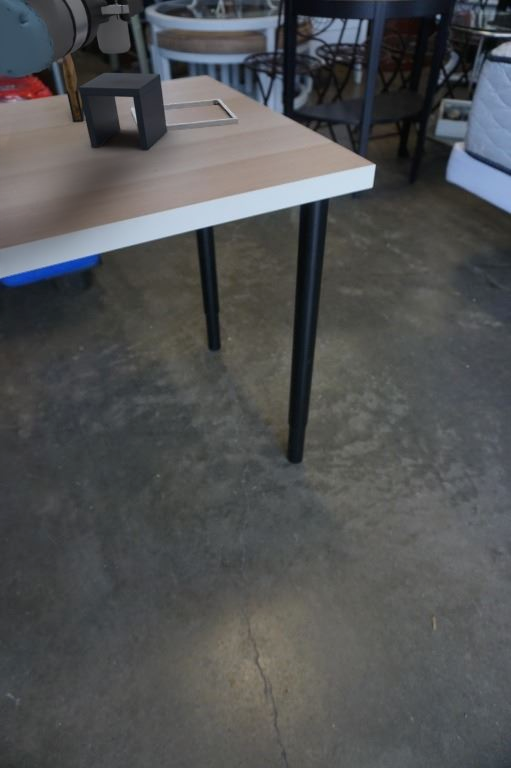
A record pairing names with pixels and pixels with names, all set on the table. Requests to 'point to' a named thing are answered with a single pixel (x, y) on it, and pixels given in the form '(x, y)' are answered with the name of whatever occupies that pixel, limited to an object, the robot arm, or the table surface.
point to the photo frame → (195, 124)
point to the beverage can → (113, 36)
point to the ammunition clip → (72, 89)
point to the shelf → (104, 110)
